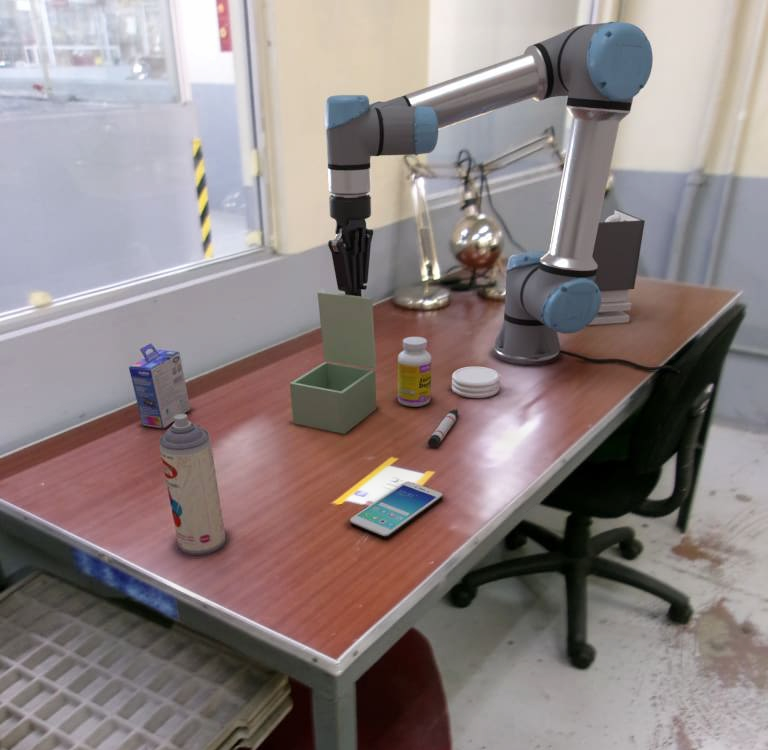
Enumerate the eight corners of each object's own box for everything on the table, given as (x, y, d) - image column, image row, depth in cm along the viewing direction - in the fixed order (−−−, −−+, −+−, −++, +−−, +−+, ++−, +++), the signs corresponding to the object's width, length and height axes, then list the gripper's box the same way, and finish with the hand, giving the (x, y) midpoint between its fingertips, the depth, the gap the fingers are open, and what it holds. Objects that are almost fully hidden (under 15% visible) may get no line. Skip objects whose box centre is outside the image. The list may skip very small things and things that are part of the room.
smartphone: (347, 519, 112) (406, 480, 122) (347, 524, 112) (406, 484, 122) (386, 535, 108) (444, 493, 118) (386, 540, 109) (444, 498, 118)
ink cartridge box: (168, 406, 152) (155, 337, 144) (191, 409, 150) (180, 339, 143) (139, 426, 144) (124, 354, 137) (164, 429, 143) (150, 356, 135)
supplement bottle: (420, 410, 148) (420, 348, 141) (391, 404, 151) (391, 342, 144) (436, 399, 153) (437, 338, 146) (408, 392, 156) (408, 332, 149)
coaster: (466, 377, 163) (467, 362, 161) (507, 387, 158) (508, 371, 156) (442, 392, 156) (443, 376, 154) (484, 403, 151) (485, 386, 149)
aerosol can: (174, 535, 111) (150, 411, 100) (219, 525, 113) (200, 402, 103) (183, 559, 105) (158, 431, 95) (231, 548, 108) (212, 421, 97)
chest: (344, 434, 140) (342, 393, 135) (293, 423, 144) (289, 383, 140) (376, 408, 149) (375, 369, 145) (327, 399, 154) (325, 361, 149)
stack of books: (628, 322, 194) (644, 220, 181) (558, 327, 191) (569, 224, 178) (604, 305, 207) (617, 209, 194) (538, 309, 205) (547, 213, 192)
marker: (438, 448, 134) (438, 438, 133) (427, 447, 134) (427, 437, 133) (461, 415, 146) (461, 405, 145) (451, 414, 146) (452, 404, 145)
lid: (370, 299, 137) (372, 297, 137) (317, 292, 141) (319, 291, 142) (374, 368, 144) (376, 366, 145) (324, 359, 149) (326, 358, 150)
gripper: (349, 187, 139) (354, 312, 152) (312, 198, 130) (320, 331, 142) (385, 190, 136) (386, 317, 149) (350, 201, 127) (354, 336, 139)
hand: (354, 324), depth 145 cm, fingers closed
